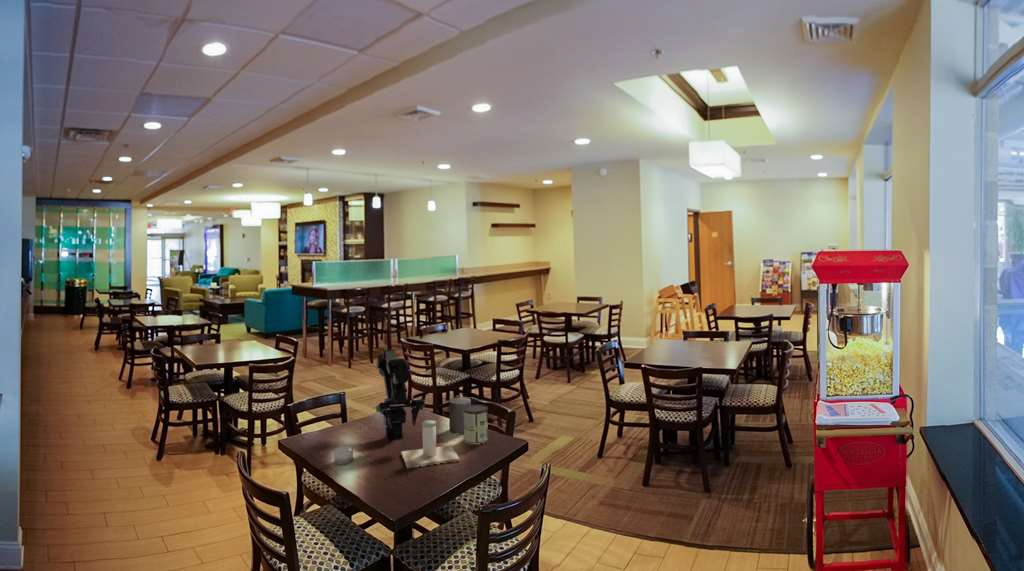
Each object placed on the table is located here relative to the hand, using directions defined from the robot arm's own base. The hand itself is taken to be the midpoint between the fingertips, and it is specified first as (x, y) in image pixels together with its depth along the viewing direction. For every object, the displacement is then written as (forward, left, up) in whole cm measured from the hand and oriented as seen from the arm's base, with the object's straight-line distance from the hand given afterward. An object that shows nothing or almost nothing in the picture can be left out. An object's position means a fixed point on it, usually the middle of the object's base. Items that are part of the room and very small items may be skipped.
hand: (402, 427), depth 229 cm
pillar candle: (-28, -18, -10) cm, 35 cm away
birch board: (-9, +10, -10) cm, 17 cm away
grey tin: (+23, +3, -10) cm, 26 cm away
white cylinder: (-9, +10, -9) cm, 16 cm away
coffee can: (-31, -3, -10) cm, 33 cm away
